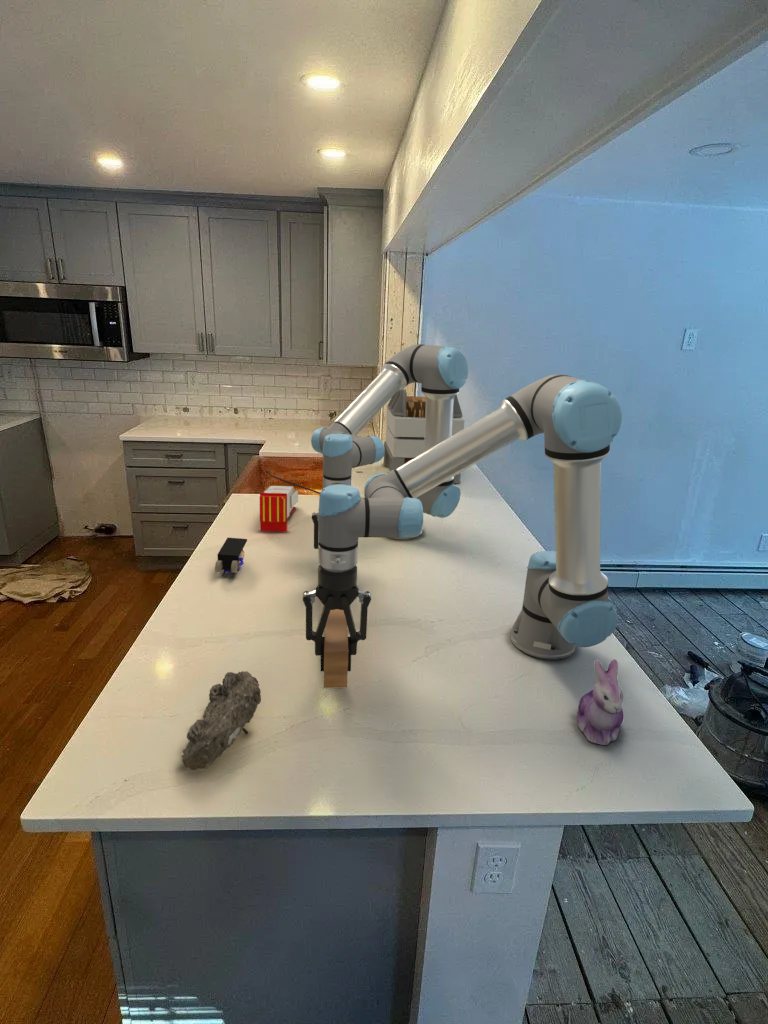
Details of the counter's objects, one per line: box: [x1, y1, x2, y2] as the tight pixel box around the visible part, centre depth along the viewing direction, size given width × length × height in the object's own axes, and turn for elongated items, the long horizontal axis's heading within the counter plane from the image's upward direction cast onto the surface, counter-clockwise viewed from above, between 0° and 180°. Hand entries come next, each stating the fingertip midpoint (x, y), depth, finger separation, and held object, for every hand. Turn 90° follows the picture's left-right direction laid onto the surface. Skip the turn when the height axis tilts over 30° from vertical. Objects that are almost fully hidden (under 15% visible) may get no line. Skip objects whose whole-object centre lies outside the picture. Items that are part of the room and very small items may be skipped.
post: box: [323, 609, 349, 689], centre depth 137 cm, size 57×5×8 cm, turn 5°
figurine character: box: [214, 537, 248, 578], centre depth 166 cm, size 7×8×15 cm
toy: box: [259, 485, 299, 533], centre depth 208 cm, size 12×13×30 cm
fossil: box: [181, 670, 262, 771], centre depth 103 cm, size 22×10×15 cm
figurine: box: [576, 658, 625, 746], centre depth 107 cm, size 9×10×15 cm
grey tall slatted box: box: [383, 388, 465, 484], centre depth 268 cm, size 34×33×41 cm
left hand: (335, 570), depth 160 cm, fingers closed on post, 5 cm apart
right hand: (335, 667), depth 117 cm, fingers closed on post, 5 cm apart
